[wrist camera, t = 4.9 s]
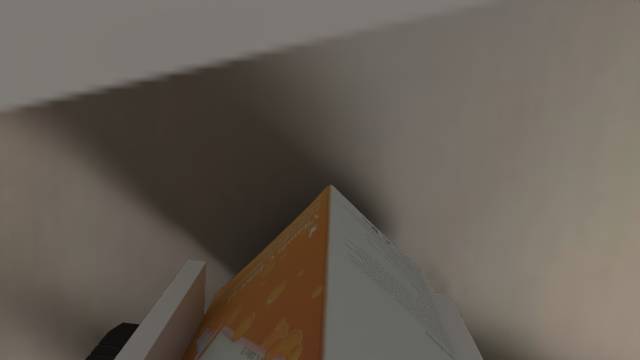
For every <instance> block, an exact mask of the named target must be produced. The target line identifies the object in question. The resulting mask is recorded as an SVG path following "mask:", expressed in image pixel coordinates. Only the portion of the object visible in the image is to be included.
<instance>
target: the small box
mask: <svg viewBox="0 0 640 360" xmlns="http://www.w3.org/2000/svg"><path fill="white" fill-rule="evenodd" d="M182 360H462V357H461V355H460V353H459V350H458V348H457V346H456V343H455V341H454V339H453V336H452V334H451V332H450V329H449V327H448V325H447V323H446V320H445V318H444V316H443V314H442V312H441V309H440V307H439V305H438V303H437V301H436V299H435V296H434V294H433V291H432V289H431V287H430V284H429V282H428V280H427V278H426V276H425V274H424V272H423V271H422V270H421V269H420V268H419V267H417V266H416V265H415V264H414V263H413V262H412V261H411V260H410V259H409V258H408V257H407V256H406V255H405V254H404V253H403V252H402V251H401V250H400V249H399V248H397V247H396V246H395V245H394V244H393V243H392V242H391V241H390V240H389V239H388V238H387V237H386V236H385V235H384V234H383V233H381V232H380V231H379V230H378V229H377V228H376V227H375V226H374V225H373V224H372V223H371V222H370V221H369V220H368V219H367V218H366V217H365V216H364V215H363V214H362V213H361V212H360V211H359V210H358V209H357V208H355V207H354V206H353V205H352V204H351V203H350V202H349V201H348V200H347V199H346V198H345V197H344V196H343V195H342V194H341V193H340V192H339V191H338V190H337V189H336V188H335V187H334V186H332V185H328V186H327V187H326V188H325V189H324V190H323V191H322V192H321V193H320V194H319V195H318V197H317V198H316V199H315V200H314V201H313V202H312V203H311V204H310V205H309V206H308V207H307V208H306V209H305V210H304V211H303V212H302V213H301V214H300V215H299V216H298V217H297V218H296V219H295V220H294V221H293V222H292V223H291V224H290V225H289V226H288V227H287V228H285V229H284V230H283V231H282V232H281V233H280V234H279V235H278V236H277V237H276V238H275V239H274V240H273V241H272V242H271V243H270V244H269V245H268V246H267V247H266V248H265V249H264V250H263V251H262V252H261V253H260V254H258V255H257V256H256V257H255V258H254V259H253V260H252V261H251V262H250V263H249V264H248V265H247V266H246V267H245V268H243V269H242V270H241V271H240V272H239V273H238V274H237V275H236V276H235V277H234V278H233V279H232V280H231V281H230V282H228V283H227V284H226V285H225V286H224V287H223V288H222V289H221V290H220V291H219V292H217V294H216V295H215V296H214V298H213V300H212V302H211V304H210V306H209V308H208V310H207V312H206V314H205V316H204V318H203V319H202V321H201V323H200V325H199V327H198V329H197V331H196V333H195V335H194V337H193V339H192V341H191V343H190V345H189V347H188V349H187V351H186V353H185V354H184V356H183V358H182Z"/></svg>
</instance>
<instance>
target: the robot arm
mask: <svg viewBox="0 0 640 360" xmlns="http://www.w3.org/2000/svg"><path fill="white" fill-rule="evenodd" d="M206 263H207V262H205V261H198V260H190V259H188V261H187V262H186V264H185V265H184V266H183V268H182V269H181V270H180V272H179V273H178V274H177V276H176V277H175V278H174V280H173V281H172V282H171V284H170V285H169V286H168V288H167V289H166V290H165V292H164V293H163V294H162V296H161V297H160V299H159V300H158V301H157V303H156V304H155V305H154V307H153V308H152V309H151V311H150V312H149V313H148V315H147V316H146V317H145V319H144V320H143V321H142V323H141V324H140V325H138V324H130V323H122V324H120V325H118V326H117V327H115V328H114V329H112V330H111V331H109V332H108V333H107V334H106V336H105V337H104V338H103V339H102V340H101V341H100V343H99V345H98V346H96V347H95V349H94V350H93V351H92V352H91V354H90V356H88V357H87V358H86V359H85V360H182V358H183V356H184V354H185V352H186V350H187V348H188V346H189V344H190V342H191V340H192V338H193V336H194V334H195V332H196V331H197V329H198V327H199V325H200V323H201V321H202V319H203V317H204V303H205V283H206ZM433 294H434V296H435V299H436V301H437V303H438V305H439V307H440V309H441V312H442V314H443V316H444V318H445V320H446V323H447V325H448V327H449V329H450V332H451V334H452V336H453V339H454V341H455V343H456V346H457V348H458V350H459V353H460V355H461V357H462V360H483V358H482V356H481V354H480V352H479V350H478V348H477V346H476V344H475V342H474V340H473V338H472V336H471V334H470V332H469V330H468V329H467V327H466V325H465V323H464V321H463V319H462V317H461V315H460V313H459V311H458V309H457V307H456V305H455V303H454V301H453V299H452V297H451V295H448V294H441V293H434V292H433Z"/></svg>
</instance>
